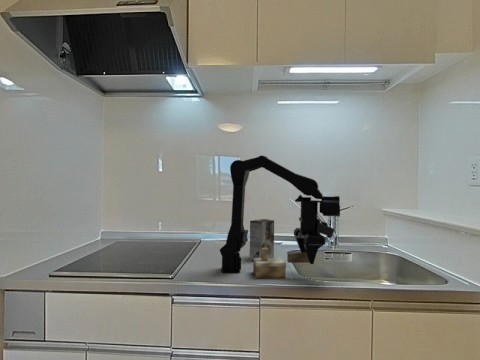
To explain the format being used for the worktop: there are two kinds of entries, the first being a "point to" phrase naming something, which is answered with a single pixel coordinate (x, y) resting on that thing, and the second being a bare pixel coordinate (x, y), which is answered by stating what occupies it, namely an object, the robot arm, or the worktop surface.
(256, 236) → the coffee box
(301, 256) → the brown rectangular block
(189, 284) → the worktop surface
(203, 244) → the worktop surface
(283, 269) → the open wooden box
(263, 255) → the lid
